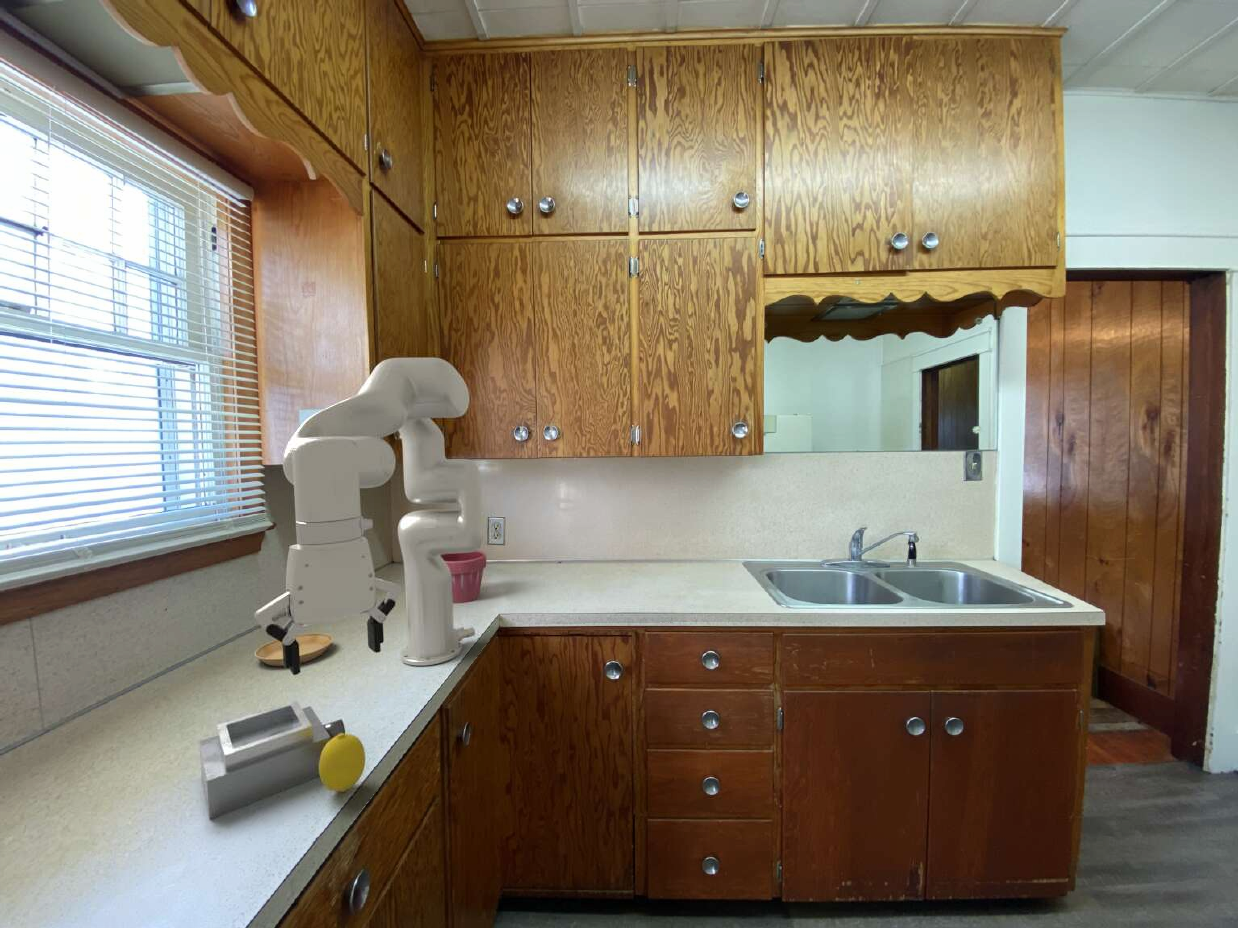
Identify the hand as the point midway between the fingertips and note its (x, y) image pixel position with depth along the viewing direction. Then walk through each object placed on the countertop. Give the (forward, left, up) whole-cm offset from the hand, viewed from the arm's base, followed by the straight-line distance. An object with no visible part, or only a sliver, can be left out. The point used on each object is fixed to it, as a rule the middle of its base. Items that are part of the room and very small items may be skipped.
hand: (336, 659), depth 71 cm
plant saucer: (-5, -57, -19) cm, 60 cm away
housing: (+5, -12, -18) cm, 22 cm away
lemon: (0, 0, -18) cm, 18 cm away
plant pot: (-50, -69, -18) cm, 87 cm away
